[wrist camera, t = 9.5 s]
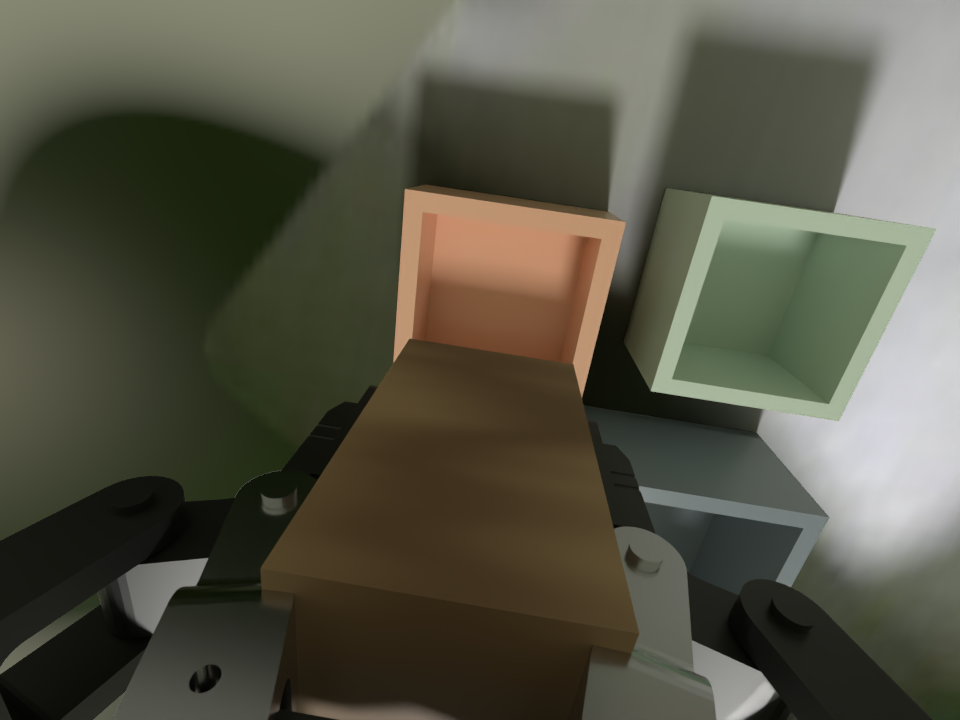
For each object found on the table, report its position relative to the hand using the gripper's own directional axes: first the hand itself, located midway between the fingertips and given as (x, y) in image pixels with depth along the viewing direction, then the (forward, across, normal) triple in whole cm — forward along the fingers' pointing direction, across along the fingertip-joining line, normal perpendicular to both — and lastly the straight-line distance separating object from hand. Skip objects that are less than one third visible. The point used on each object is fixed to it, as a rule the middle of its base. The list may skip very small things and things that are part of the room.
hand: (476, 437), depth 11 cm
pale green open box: (+15, -11, -2) cm, 19 cm away
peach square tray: (+15, 0, 0) cm, 15 cm away
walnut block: (+1, 0, 0) cm, 1 cm away
